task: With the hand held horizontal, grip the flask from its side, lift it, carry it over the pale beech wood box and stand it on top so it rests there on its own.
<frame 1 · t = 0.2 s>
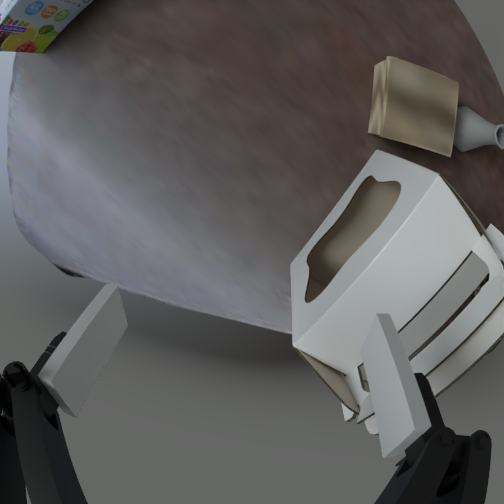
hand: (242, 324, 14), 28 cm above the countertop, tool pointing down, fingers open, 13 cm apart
flask: (462, 128, 30), on the countertop
beech box: (404, 107, 31), on the countertop
gable box: (365, 232, 40), on the countertop
snack box: (76, 7, 26), on the countertop
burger: (487, 270, 40), on the countertop
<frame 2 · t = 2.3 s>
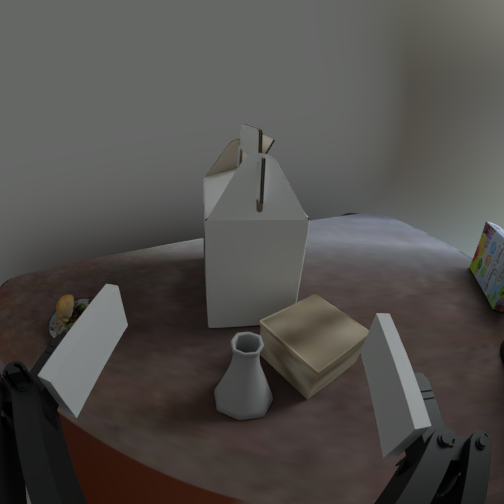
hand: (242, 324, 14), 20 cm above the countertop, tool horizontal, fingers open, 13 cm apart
flask: (243, 397, 31), on the countertop
beech box: (308, 358, 37), on the countertop
gable box: (241, 287, 52), on the countertop
snack box: (486, 289, 53), on the countertop
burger: (81, 327, 38), on the countertop
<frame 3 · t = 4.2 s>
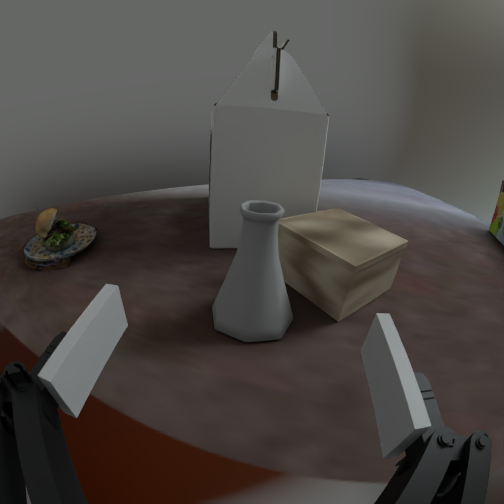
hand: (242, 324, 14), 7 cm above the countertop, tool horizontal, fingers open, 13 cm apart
flask: (251, 317, 25), on the countertop
beech box: (333, 280, 30), on the countertop
gable box: (250, 218, 46), on the countertop
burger: (61, 251, 32), on the countertop
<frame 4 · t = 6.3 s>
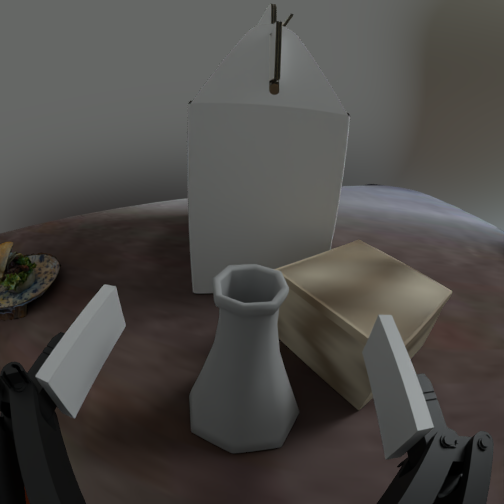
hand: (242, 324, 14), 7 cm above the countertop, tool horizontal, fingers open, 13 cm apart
flask: (243, 409, 16), on the countertop
beech box: (352, 340, 22), on the countertop
gable box: (247, 244, 37), on the countertop
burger: (24, 291, 25), on the countertop
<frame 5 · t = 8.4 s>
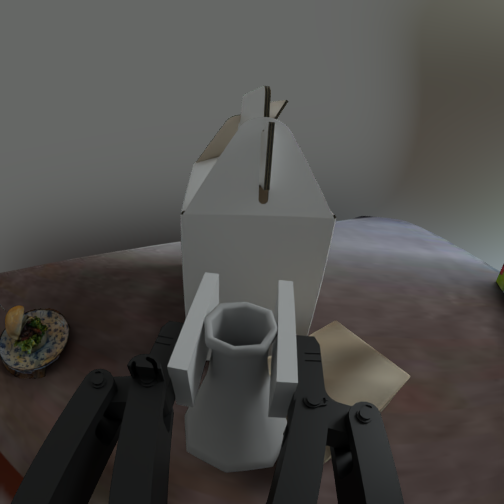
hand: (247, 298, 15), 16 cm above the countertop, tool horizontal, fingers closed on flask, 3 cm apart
flask: (236, 429, 16), point 7 cm above the countertop, touching gripper
beech box: (322, 407, 25), on the countertop
gable box: (237, 303, 40), on the countertop
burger: (37, 346, 27), on the countertop
when the fingers open (15 cm above the countertop, at t = 10.2 s): flask stays where it is, resting on beech box.
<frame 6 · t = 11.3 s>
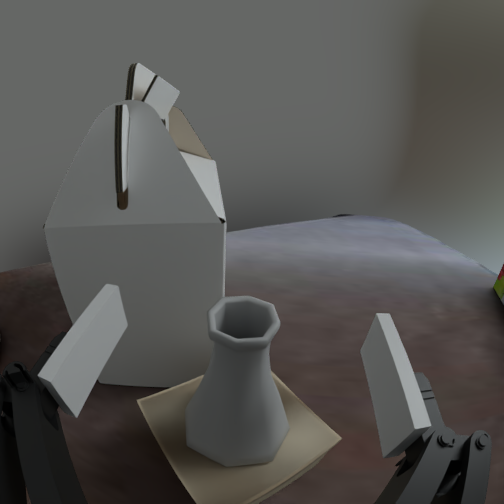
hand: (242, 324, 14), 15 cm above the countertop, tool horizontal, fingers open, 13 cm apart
flask: (236, 424, 17), point 6 cm above the countertop, touching beech box
beech box: (234, 455, 19), on the countertop
gable box: (166, 319, 34), on the countertop
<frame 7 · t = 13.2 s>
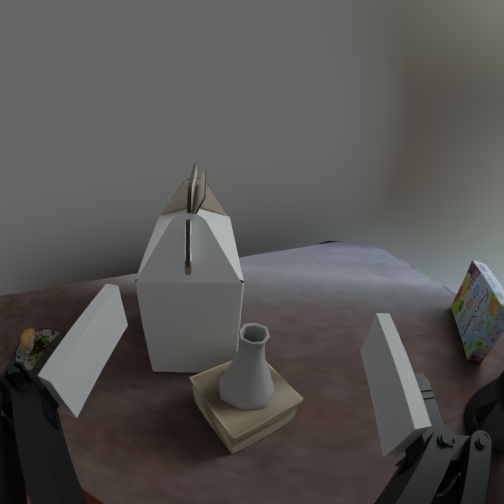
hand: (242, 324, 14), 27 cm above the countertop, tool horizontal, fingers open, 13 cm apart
flask: (246, 388, 33), point 6 cm above the countertop, touching beech box
beech box: (242, 412, 35), on the countertop
gable box: (193, 328, 50), on the countertop
snack box: (465, 333, 52), on the countertop
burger: (44, 357, 37), on the countertop
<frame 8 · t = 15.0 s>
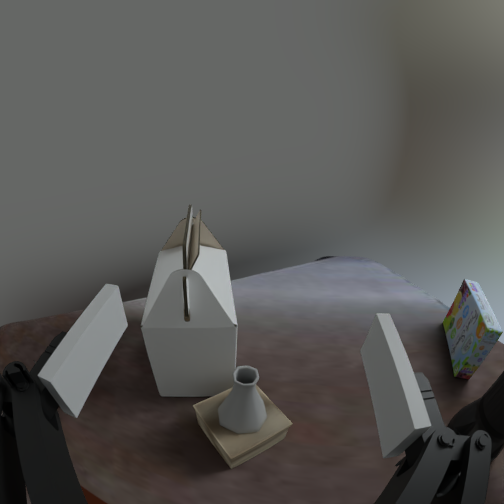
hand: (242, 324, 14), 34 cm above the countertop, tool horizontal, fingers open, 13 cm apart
flask: (242, 414, 36), point 6 cm above the countertop, touching beech box
beech box: (240, 432, 38), on the countertop
gable box: (196, 353, 54), on the countertop
snack box: (455, 349, 54), on the countertop
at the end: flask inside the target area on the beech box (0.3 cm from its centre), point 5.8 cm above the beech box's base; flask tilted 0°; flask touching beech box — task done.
